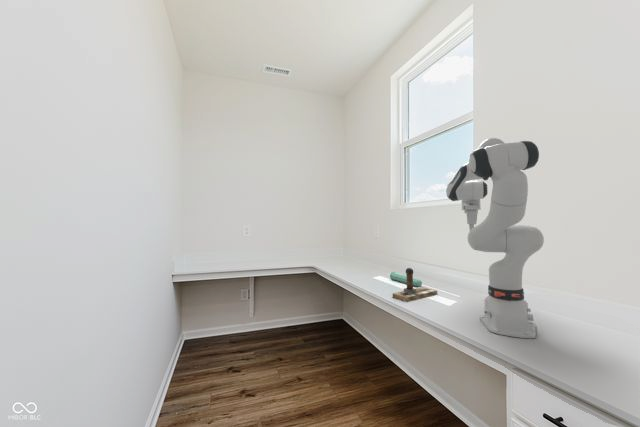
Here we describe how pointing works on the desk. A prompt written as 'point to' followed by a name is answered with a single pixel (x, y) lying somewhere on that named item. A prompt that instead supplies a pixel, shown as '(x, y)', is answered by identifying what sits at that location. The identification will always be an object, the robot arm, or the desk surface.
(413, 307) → the desk surface
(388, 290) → the desk surface
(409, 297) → the wooden base board
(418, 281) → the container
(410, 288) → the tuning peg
